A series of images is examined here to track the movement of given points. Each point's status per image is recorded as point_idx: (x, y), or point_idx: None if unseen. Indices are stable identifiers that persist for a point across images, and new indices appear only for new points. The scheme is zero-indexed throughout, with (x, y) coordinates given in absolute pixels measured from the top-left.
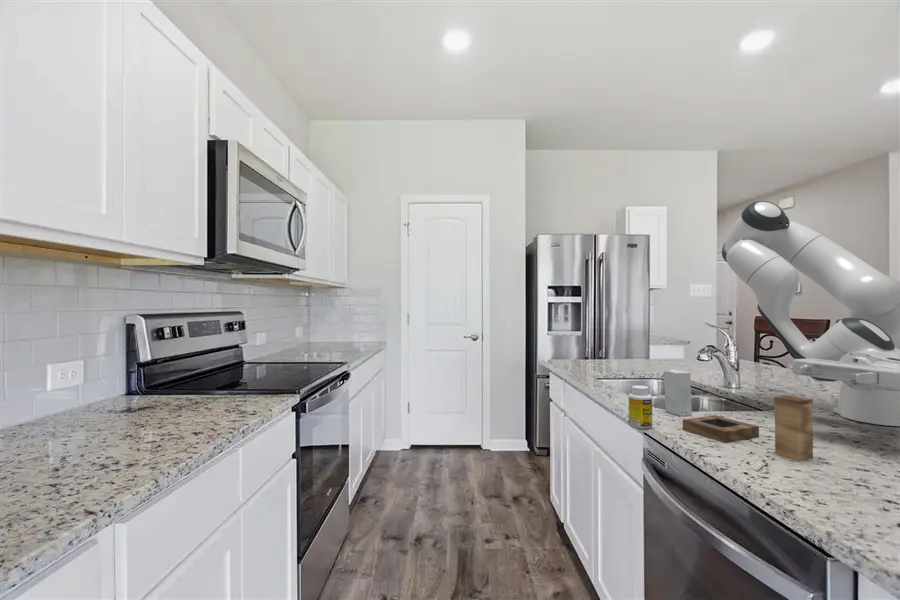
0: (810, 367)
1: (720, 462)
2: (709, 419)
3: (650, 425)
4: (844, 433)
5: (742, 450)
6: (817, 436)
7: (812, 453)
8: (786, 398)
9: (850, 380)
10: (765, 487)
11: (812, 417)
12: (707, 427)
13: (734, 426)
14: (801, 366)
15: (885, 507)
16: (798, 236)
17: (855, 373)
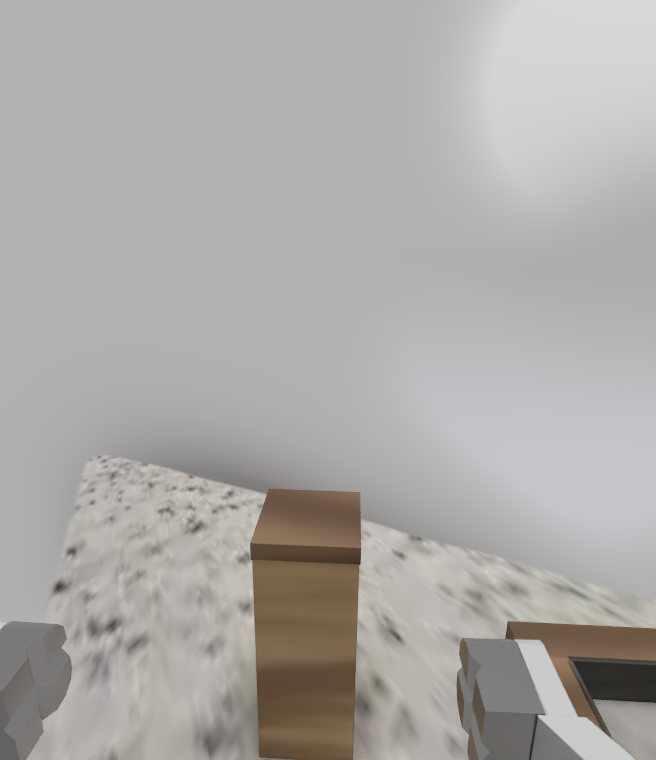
0: (479, 693)
1: (367, 532)
2: None
3: None
4: None
5: (420, 633)
6: None
7: (259, 738)
8: (318, 496)
9: (68, 678)
10: (248, 502)
11: (254, 616)
12: (586, 628)
13: (591, 717)
14: (542, 650)
15: (70, 558)
16: None
17: (12, 629)
